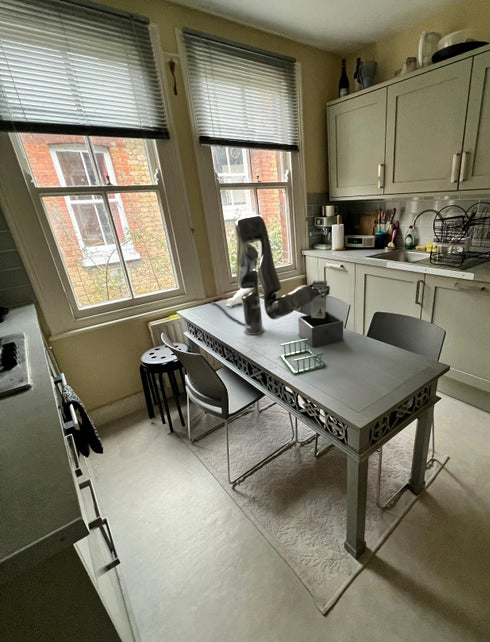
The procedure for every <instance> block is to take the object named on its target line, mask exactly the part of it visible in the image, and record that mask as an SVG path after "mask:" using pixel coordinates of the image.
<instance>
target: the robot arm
mask: <svg viewBox="0 0 490 642" xmlns="http://www.w3.org/2000/svg"><path fill="white" fill-rule="evenodd" d="M234 225H235V227H234V229H235V230H234V231H235V236H236V237H235V239H236V274H235V282H236V285H237V287H238V288H239V290H240V289H248V288H249V289H250V290H251V291H249V292H248V293H246V294H244V295H243V296H242V303H241V305H242V312H243V313H242V314H243V321H244V323H243V322H241V321H240V320H239V319H236V318H235V317H233V316H232V315H230V314H229V313H228V312H227V311H226V310H225V309H224V308H223V307H222V306H221V305H220V304H218V303H216V302H214V301H210V302H209V304H213V305H215V306H217V307H218V308H219V309H221V310H222V312H223V313H224V314H226V316H227V317H228V318H230V319H232V320H233V321H235V322H236V323H238V324H240V325H241V326H244V327H245V328H244V329H245V334H247V335H251V336H252V335H258V334H262V333H263V332H264V327H263V318H262V306H261V298H260V297H261V296H260V287H259V286H260V285H261V289H262V292H263V307H264V311H265V314H266V316H267V317H268V318H269V319H271V320H273V321H274V320H278V319H280V318H283V317H286V316H288V315H290V314H291V313H293V312H294V311H296V310H297V309H299V308H301V307H304V306H306V305H308V304H310V303H312V301H313V299H314V298H315V297H316V296H320V295H321V297H325V296H326V297H327V296H329V295H330V290H331V286H330V285H327V286H326V287H324V288H321V287H317V288H315V287H313V288H312V284H313V283H309V284H301V285H299V286H297V287H296V288H295V289H294V290H291V291H290V292H288V293H286V294H284V295H282V296H280V297H277V296H278V293H279V292H280V291H282V284H281V281H280V278H279V275H278V272H277V268H276V266H275V262H274V257H273V251H272V247H271V246H272V245H271V242H270V237H269V232H268V229H267V225H266V222H265V220H264V218H263V217H262V215H259V214H255V215H249V216H245V217H240V218H238V219H237V220H236V222H235V224H234ZM256 242H260V244H261V245H260V246H261V254H260V259H259V252H258V250H257V248H256V247H255V246H254V245H252V244H253V243H256ZM251 243H252V244H251ZM257 266H258V267H257ZM256 268H257V270H256ZM259 283H260V285H259ZM318 289H319V291H318ZM322 290H323V291H322Z"/></svg>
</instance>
